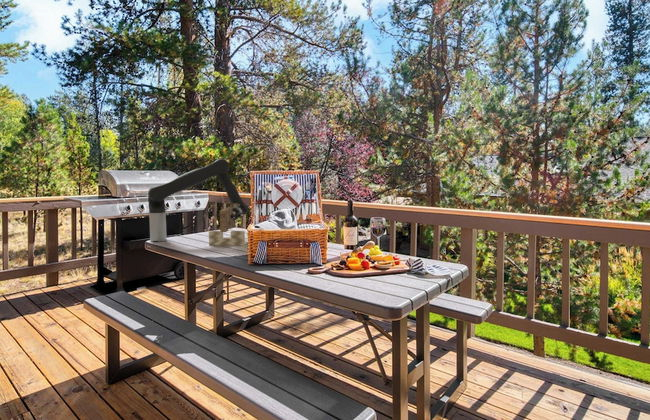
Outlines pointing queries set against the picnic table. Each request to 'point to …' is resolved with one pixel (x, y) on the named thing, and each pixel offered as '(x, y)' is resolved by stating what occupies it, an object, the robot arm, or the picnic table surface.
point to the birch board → (235, 239)
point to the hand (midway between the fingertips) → (228, 216)
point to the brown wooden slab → (226, 219)
